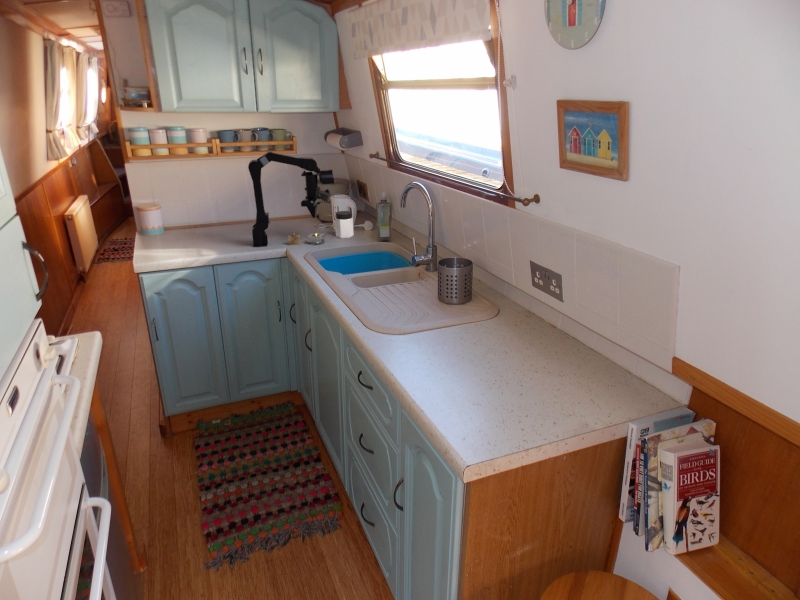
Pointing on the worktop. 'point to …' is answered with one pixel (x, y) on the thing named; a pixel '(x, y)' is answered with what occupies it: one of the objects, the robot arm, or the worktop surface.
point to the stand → (294, 239)
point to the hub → (316, 242)
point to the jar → (344, 224)
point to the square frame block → (315, 238)
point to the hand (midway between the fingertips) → (314, 217)
